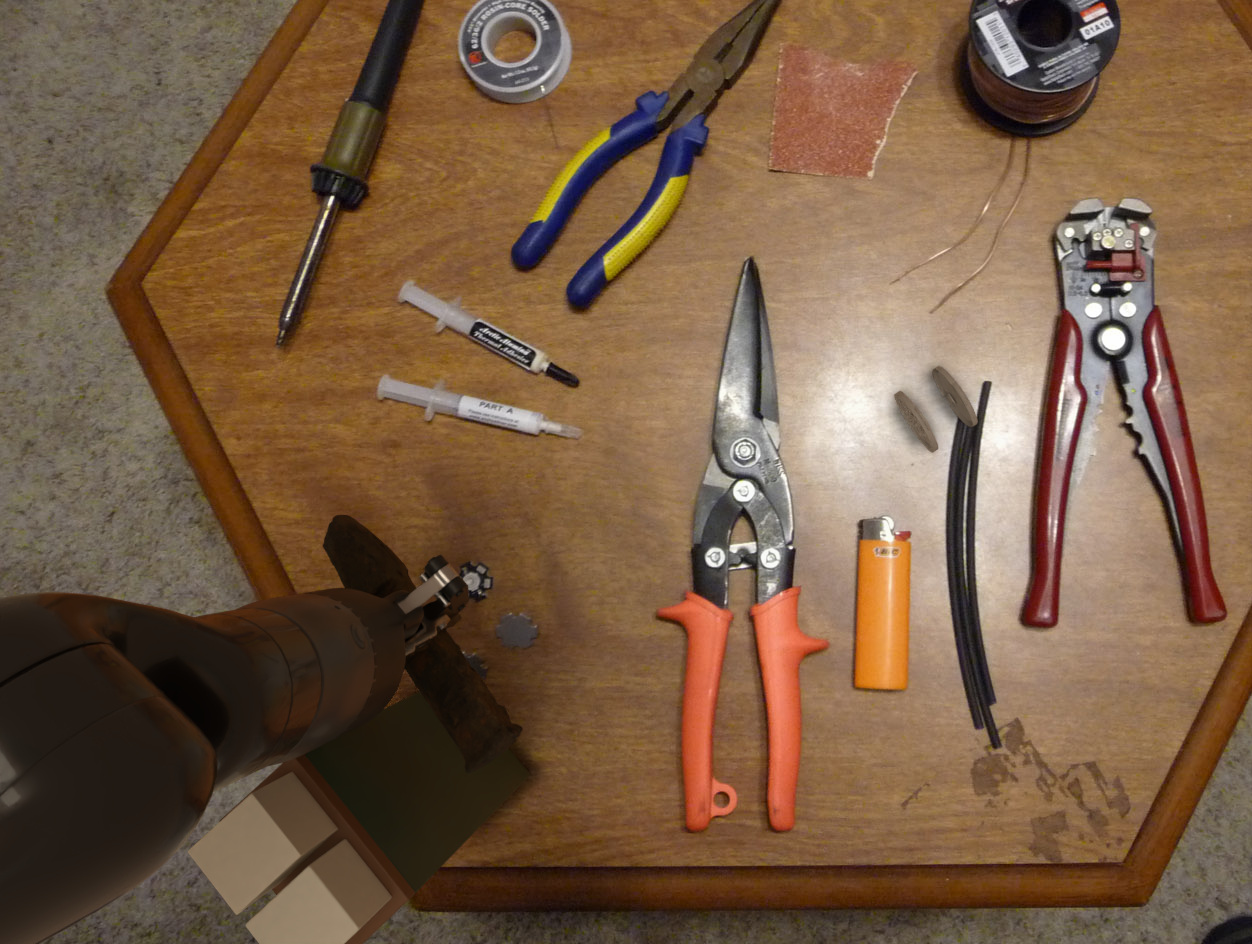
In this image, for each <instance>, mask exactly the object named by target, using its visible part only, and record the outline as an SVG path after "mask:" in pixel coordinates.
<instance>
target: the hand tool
mask: <svg viewBox="0 0 1252 944" xmlns="http://www.w3.org/2000/svg"><path fill="white" fill-rule="evenodd" d="M322 548H323V550H324V551H325V553H326V554H327V556H328V558H329V561H330V563H331V565H332V566H333V567H334V569H335V571H336V573H337V576H338V577H339V580H340V581H341V584H342V586H343V588H349V589H355V590H359V591H363V592H366V593H369V594H371V595H374V596H377V597H379V598H384V597H386V596H388V595H390V594H392V593H394V592H396V591H399V590H405V591H408V592H409V593H411V592H413V591H414V590H415V589H417V588H418V587H417V586H416V585H415V583H414V581H412V580H413V579H412V578H411V576H410V575H409V569H408V567H407V566H406V564H405V563H404V562H403V561H402V560H401V558H400V557H399V556H398V555H397V553H395V552H394V551H393V550H392V549H391V548H390V547H389V545H388V544H386V543H385V542H383V541H382V540H381V539H380V538H379V537H378V536H377V535H376V534H374V533H373V532H372V531H371V530H370V529H369V528H368V527H366V526H365V525H363V524H362V523H360V522H359V521H358V520H357V519H356V518H354V517H353V516H350V515H347V514H337V515H334V516H333V517H332V519H331V521H330V522H329V523H328V526H327V530H326V533H325V535H324V538H323V543H322ZM461 648H462V647H461V646H460V644H458V643H457V642H456V641H455V640H454V639H453V637H452V635H451V634H450V633H449V631H448V630H447V629H444V630H441V631H438V632H437V635H436V636H435V637H434V638H432V639H431V640H430V641H429V642H428V643H427V644H426V645H425V646H424V647H423V648H422V649H420V650H418V651H416V652H415V653H413V654H411V655H410V656H409V657H408V658H406V659H405V667H404V668H405V670H404V671H406V673H407V674H408V676H409V678H410V679H411V681H412V682H413V684H414V685H415V687H416V688H417V690H418V692H419V691H420V692H421V694H422V695H423V697H424V699H425V700H426V701H427V703H428V704H429V706H430V707H431V709H432V710H433V712H434V714H435V715H436V717H437V718H438V719H439V721H440V722H441V723H442V725H443V726H444V727H445V729H446V730H447V732H448V733H449V735H450V737H451V738H452V739H453V740H454V742H455V744H456V745H457V747H458V748H459V750H460V752H461V754H462V755H463V757H464V759H465V771H466V773H467V774H468V773H471V772H473V771H475V770H477V769H479V768H481V767H482V766H484V765H486V764H488V763H489V762H491V761H492V760H493V759H495V758H496V757H497V756H499V755H501V754H502V753H503V752H505V751H506V750H507V749H508V748H509V749H510V747H511V746H512V745H514V744H515V743H516V742H517V739H518V738H519V737H520V736H521V734H522V732H523V729H524V728H523V727H522V726H521V725H519V724H518V723H513V722H512V721H511V719H510V714H509V711H508V709H507V708H506V707H505V706H504V705H500V704H499V702H498V701H497V699H496V698H495V696H494V695H493V694H492V693H493V692H491V691H490V689H489V687H488V684H487V683H486V681H485V680H484V679H483V678H482V676H481V675H480V673H479V672H478V670H477V669H476V668H475V667H473V666H472V665H471V664H470V661H468V659H467V657H466V656H465V654H464V653H463V651H462V649H461Z"/></svg>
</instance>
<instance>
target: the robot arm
mask: <svg viewBox="0 0 1252 944" xmlns="http://www.w3.org/2000/svg"><path fill="white" fill-rule="evenodd" d="M423 570H424V571H423V572H422V573H420V575H419V576H418V579H419V580H420V581H421V582H422V584H420V585H419V586H418V587H417V589H415V590H414V591H413V592H411V593H409V592H408V591H405V590H399V591H396V592H394V593H392V594H390V595H388V596H386V597H384V598H379V597H377V596H374V595H371V594H369V593H366V592H363V591H359V590H355V589H349V588H344V587H333V588H325V589H318V590H313V591H307V592H301V593H294V594H289V595H283V596H275V597H270V598H266V599H264V598H263V599H259V600H257V601H254V602H250V603H248V604H244V605H242V606H239V607H237V608H235V609H230V610H225V611H219V612H212V613H207V614H206V613H205V614H201V615H197V616H193V615H192V616H191V615H188V614H184V613H180V612H178V611H175V610H171V609H168V608H164V607H159V606H155V605H154V606H153V605H148V604H144V603H138V602H133V601H130V600H129V601H128V600H124V599H118V598H113V597H108V596H103V595H96V594H89V593H78V592H66V591H65V592H64V591H40V592H29V593H28V592H27V593H21V594H15V595H9V596H4V597H0V944H42V943H43V942H46V941H47V940H49V939H52V937H54V936H56V935H58V934H60V933H62V932H64V931H66V930H67V929H70V927H73V926H75V925H76V924H79V923H80V922H82V921H84V920H85V919H87V918H89V917H90V916H92V915H94V914H96V913H97V912H99V911H101V910H102V909H103V908H106V907H107V906H109V905H110V904H111V903H113V902H115V901H117V900H119V899H120V898H121V897H123V896H124V895H126V894H127V893H129V892H131V891H132V890H134V889H135V888H137V887H138V886H139V885H140V884H142V883H143V882H145V881H146V880H147V879H149V878H150V877H151V876H152V875H153V874H155V873H156V872H157V871H159V870H160V869H161V868H162V867H163V866H164V865H165V864H166V863H168V862H169V860H171V859H172V857H173V856H174V855H175V854H177V852H178V851H179V850H180V849H181V848H182V847H183V845H184V844H185V843H186V842H187V841H188V840H189V838H191V835H192V834H193V833H194V831H195V830H196V829H197V827H198V825H199V824H200V822H201V820H202V819H203V817H204V815H205V813H206V810H207V809H208V807H209V804H210V801H211V799H212V797H213V795H214V792H216V791H218V790H221V789H223V788H225V787H227V786H229V785H231V784H234V783H235V782H238V781H240V780H242V779H244V778H246V777H248V776H250V775H252V774H254V773H256V772H258V771H260V770H262V769H263V770H264V768H266V767H272V766H275V765H279V764H280V765H281V764H282V763H283V762H287V761H289V760H292V759H294V758H297V757H299V756H302V755H304V754H306V753H308V752H310V751H312V750H314V749H316V748H318V747H320V746H322V745H324V744H326V743H328V742H330V741H332V740H334V739H336V738H338V737H340V736H342V735H344V734H346V733H348V732H350V731H352V730H354V729H356V728H358V727H360V726H362V725H364V724H366V723H367V722H369V721H370V720H372V719H373V718H374V717H376V716H377V715H378V714H379V713H380V712H381V711H382V710H383V709H385V708H387V707H388V705H389V704H390V702H391V700H393V698H394V696H395V695H396V693H397V691H398V689H399V686H400V684H401V682H402V679H403V676H404V672H405V671H406V670H405V668H404V667H405V659H406V658H408V657H409V656H410V655H411V654H413V653H415V652H416V651H418V650H420V649H422V648H423V647H424V646H425V645H426V644H427V643H428V642H429V641H430V640H431V639H432V638H434V637H435V636H436V635H437V632H438V631H441V630H444V629H446V630H447V629H449V628H453V627H454V626H456V625H457V624H458V623H459V622H460V621H461V620H462V615H461V612H462V611H463V610H464V609H465V608H466V607H467V605H468V603H470V593H469V585H468V583H466V582H465V580H464V579H463V578H462V577H461V575H460V574H459V573H458V572H457V570H455V568H454V567H453V566H452V565H451V564H450V563H449V561H448V559H446V558H445V556H443V553H441V554H438V555H436V556H433V557H431V558H430V559H429V560H428V561H427V563H426V564H425V566H424V567H423Z"/></svg>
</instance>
